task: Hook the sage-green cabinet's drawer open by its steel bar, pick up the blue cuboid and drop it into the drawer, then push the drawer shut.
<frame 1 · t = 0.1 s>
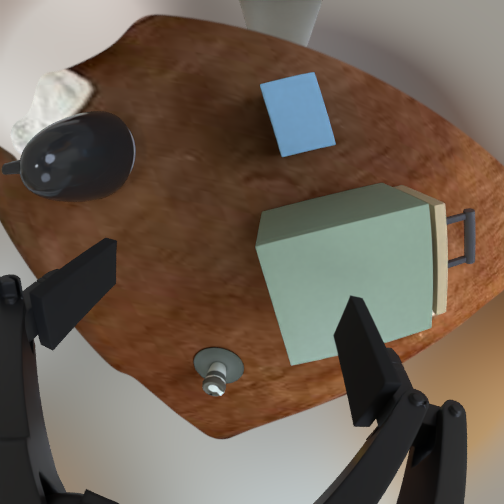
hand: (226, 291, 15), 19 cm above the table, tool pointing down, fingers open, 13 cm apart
black bell: (111, 152, 32), on the table
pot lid: (219, 366, 43), on the table
cabinet: (334, 246, 34), on the table
blue cuboid: (293, 119, 29), on the table
drawer: (396, 252, 28), point 6 cm above the table, slide at 1.0 cm
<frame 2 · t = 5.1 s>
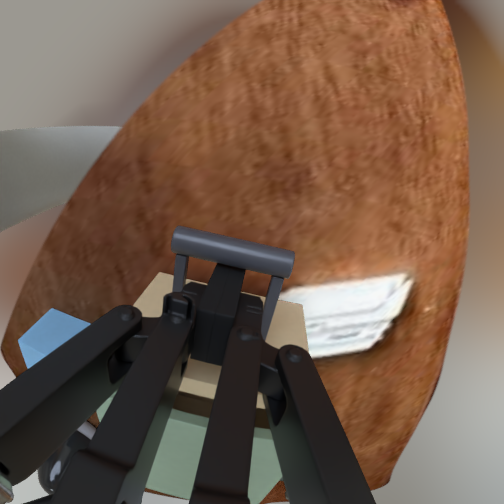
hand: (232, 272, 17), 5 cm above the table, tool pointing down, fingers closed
black bell: (85, 425, 35), on the table
cabinet: (213, 371, 27), on the table
blue cuboid: (78, 335, 27), on the table
drawer: (211, 366, 19), point 6 cm above the table, slide at 1.6 cm, touching gripper
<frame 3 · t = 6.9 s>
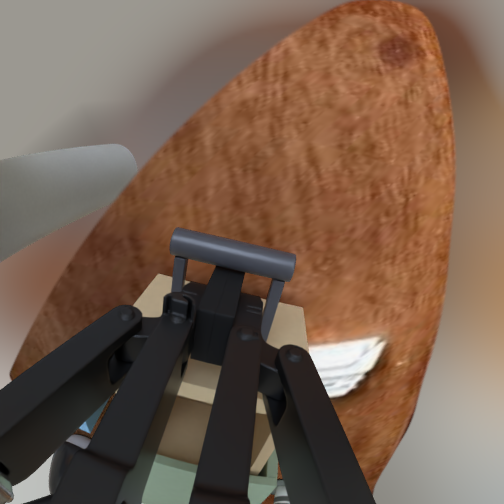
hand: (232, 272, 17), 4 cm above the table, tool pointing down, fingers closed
black bell: (91, 443, 37), on the table
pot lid: (284, 486, 36), on the table
cabinet: (206, 409, 29), on the table
drawer: (210, 369, 19), point 6 cm above the table, slide at 7.8 cm, touching gripper
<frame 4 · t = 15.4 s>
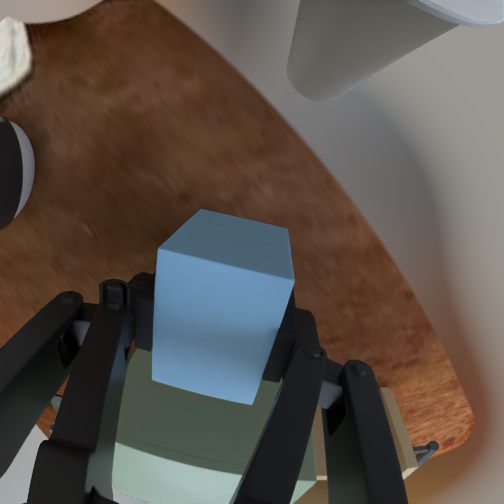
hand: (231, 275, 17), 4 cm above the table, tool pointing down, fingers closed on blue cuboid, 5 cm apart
black bell: (17, 166, 20), on the table
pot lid: (72, 413, 32), on the table
cabinet: (215, 397, 27), on the table
blue cuboid: (231, 274, 18), point 4 cm above the table, touching gripper
drawer: (341, 457, 21), point 6 cm above the table, slide at 7.9 cm
when the fingers open (10 cm above the table, at t = 20.7 s): blue cuboid drops 8 cm, resting on drawer.
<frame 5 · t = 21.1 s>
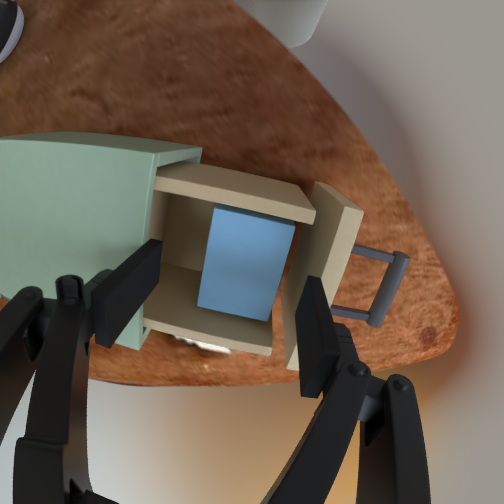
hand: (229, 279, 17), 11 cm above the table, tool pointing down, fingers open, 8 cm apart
black bell: (10, 38, 18), on the table
cabinet: (119, 200, 26), on the table
blue cuboid: (248, 237, 25), point 2 cm above the table, touching drawer
drawer: (271, 258, 21), point 6 cm above the table, slide at 9.9 cm, touching blue cuboid
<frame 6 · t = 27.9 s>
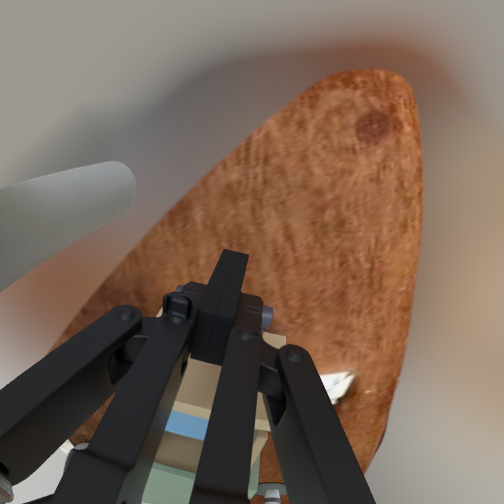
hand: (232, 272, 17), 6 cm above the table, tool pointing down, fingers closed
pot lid: (273, 488, 41), on the table
cabinet: (202, 424, 33), on the table
blue cuboid: (213, 373, 26), point 2 cm above the table, touching drawer
drawer: (207, 388, 22), point 6 cm above the table, slide at 9.7 cm, touching blue cuboid
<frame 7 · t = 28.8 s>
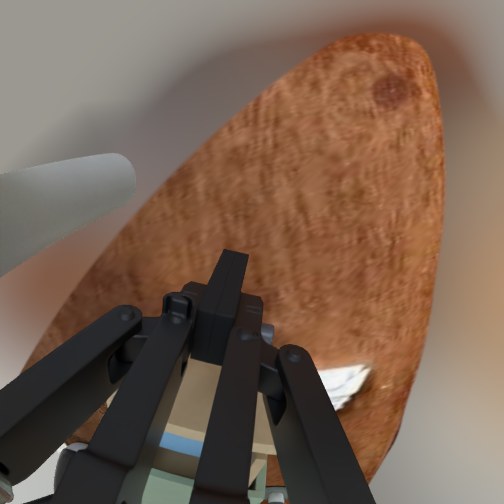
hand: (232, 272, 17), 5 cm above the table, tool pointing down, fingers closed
black bell: (93, 450, 38), on the table
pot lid: (277, 492, 38), on the table
cabinet: (202, 424, 30), on the table
blue cuboid: (210, 387, 25), point 2 cm above the table, touching drawer
drawer: (203, 405, 20), point 6 cm above the table, slide at 6.8 cm, touching gripper, blue cuboid
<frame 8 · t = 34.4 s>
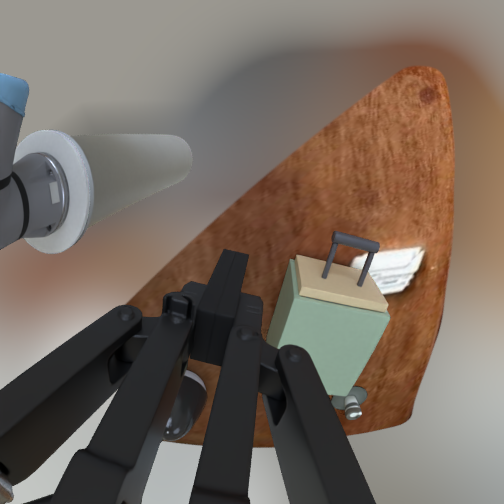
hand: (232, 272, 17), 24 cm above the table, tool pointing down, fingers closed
black bell: (186, 378, 54), on the table
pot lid: (350, 397, 53), on the table
cabinet: (315, 308, 46), on the table
drawer: (331, 301, 39), point 6 cm above the table, slide at 0.0 cm, touching cabinet, blue cuboid
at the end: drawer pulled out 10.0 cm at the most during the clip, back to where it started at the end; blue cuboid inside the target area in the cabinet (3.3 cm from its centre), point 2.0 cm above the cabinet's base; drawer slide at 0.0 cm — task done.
